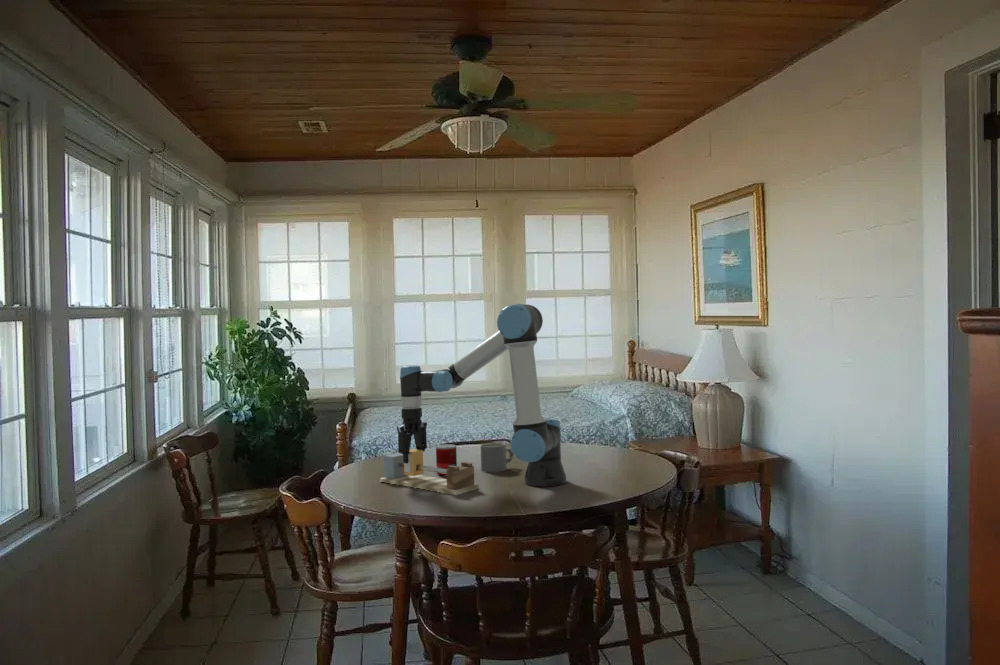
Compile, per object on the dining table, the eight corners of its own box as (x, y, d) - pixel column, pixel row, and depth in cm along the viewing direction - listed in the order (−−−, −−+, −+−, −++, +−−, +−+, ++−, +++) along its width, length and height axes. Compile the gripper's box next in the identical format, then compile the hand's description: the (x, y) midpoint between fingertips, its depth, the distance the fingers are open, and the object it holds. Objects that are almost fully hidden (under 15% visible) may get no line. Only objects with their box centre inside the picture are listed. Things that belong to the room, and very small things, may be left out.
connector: (407, 475, 268) (406, 454, 268) (393, 478, 263) (393, 457, 263) (398, 473, 271) (397, 452, 271) (384, 477, 266) (383, 455, 266)
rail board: (478, 488, 250) (477, 462, 250) (456, 495, 241) (455, 468, 240) (402, 476, 273) (402, 452, 273) (379, 482, 264) (379, 457, 264)
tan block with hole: (423, 473, 262) (422, 449, 262) (413, 476, 258) (413, 452, 258) (413, 472, 265) (413, 448, 265) (404, 474, 261) (403, 450, 261)
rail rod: (459, 477, 250) (459, 466, 250) (452, 479, 247) (452, 468, 247) (402, 468, 268) (401, 458, 268) (394, 470, 265) (394, 460, 265)
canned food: (454, 476, 271) (453, 447, 271) (434, 476, 273) (433, 447, 272) (459, 472, 278) (458, 444, 278) (439, 471, 280) (439, 444, 280)
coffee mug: (484, 473, 275) (483, 447, 275) (479, 468, 285) (478, 443, 285) (517, 470, 278) (516, 445, 278) (511, 465, 288) (510, 441, 288)
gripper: (421, 404, 270) (423, 465, 271) (386, 409, 256) (388, 473, 256) (435, 405, 266) (437, 467, 266) (400, 410, 252) (403, 476, 252)
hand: (413, 470), depth 261 cm, fingers closed on tan block with hole, 5 cm apart
